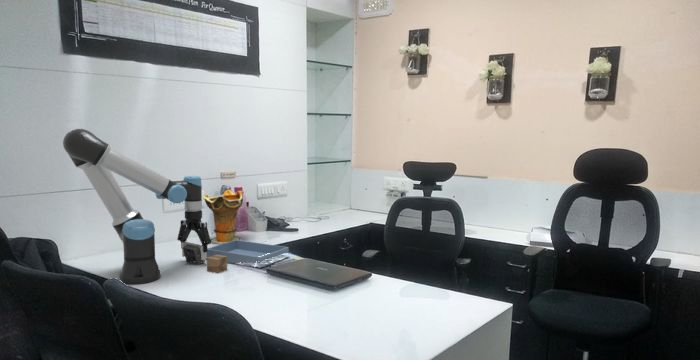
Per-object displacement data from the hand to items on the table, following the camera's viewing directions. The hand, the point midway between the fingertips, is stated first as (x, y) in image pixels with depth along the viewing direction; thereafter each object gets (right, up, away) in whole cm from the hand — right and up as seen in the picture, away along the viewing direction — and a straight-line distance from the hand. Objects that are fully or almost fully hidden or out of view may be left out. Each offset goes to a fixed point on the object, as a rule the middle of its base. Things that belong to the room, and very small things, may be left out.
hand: (194, 257), depth 221 cm
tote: (+22, -2, +9) cm, 24 cm away
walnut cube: (+13, -4, -11) cm, 18 cm away
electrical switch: (0, -3, 0) cm, 3 cm away
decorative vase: (+3, +2, +46) cm, 46 cm away
